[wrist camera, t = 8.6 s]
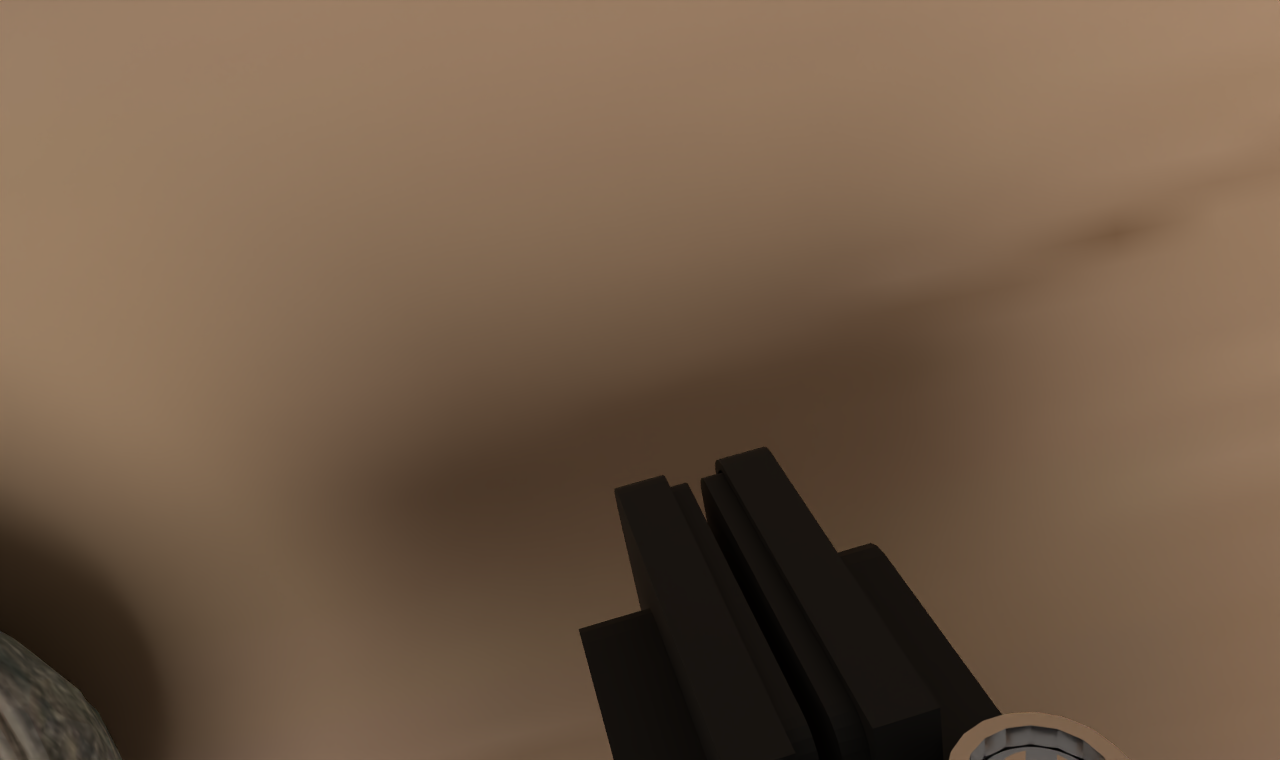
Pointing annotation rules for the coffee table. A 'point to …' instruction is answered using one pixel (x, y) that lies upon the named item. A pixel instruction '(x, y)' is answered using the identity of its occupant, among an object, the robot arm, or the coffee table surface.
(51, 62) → the coffee table surface
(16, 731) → the mug
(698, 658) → the robot arm
